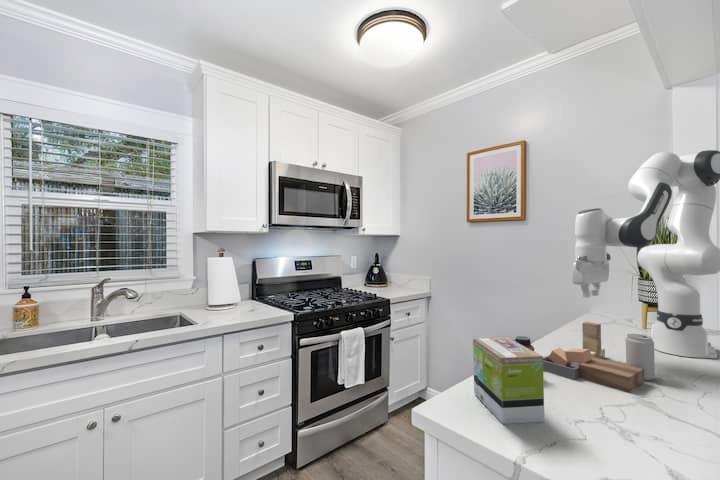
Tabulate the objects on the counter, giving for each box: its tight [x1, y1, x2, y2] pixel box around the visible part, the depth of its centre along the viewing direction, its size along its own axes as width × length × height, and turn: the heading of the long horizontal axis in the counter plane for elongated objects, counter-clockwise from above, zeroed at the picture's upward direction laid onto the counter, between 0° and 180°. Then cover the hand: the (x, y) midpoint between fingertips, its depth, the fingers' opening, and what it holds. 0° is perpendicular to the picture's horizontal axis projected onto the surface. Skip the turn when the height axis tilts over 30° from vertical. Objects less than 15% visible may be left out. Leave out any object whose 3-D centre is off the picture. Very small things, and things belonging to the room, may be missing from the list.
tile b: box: [564, 348, 592, 363], centre depth 102 cm, size 5×5×3 cm
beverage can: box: [625, 333, 656, 382], centre depth 98 cm, size 6×6×12 cm
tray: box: [543, 354, 593, 381], centre depth 104 cm, size 16×10×3 cm, turn 125°
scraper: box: [582, 321, 606, 359], centre depth 114 cm, size 10×4×12 cm, turn 125°
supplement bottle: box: [514, 335, 535, 352], centre depth 99 cm, size 6×6×11 cm
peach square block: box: [548, 347, 573, 367], centre depth 106 cm, size 5×5×3 cm
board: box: [578, 357, 645, 394], centre depth 95 cm, size 11×12×4 cm
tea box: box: [472, 336, 545, 425], centre depth 80 cm, size 15×10×15 cm, turn 5°
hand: (591, 296), depth 114 cm, fingers open, 5 cm apart
